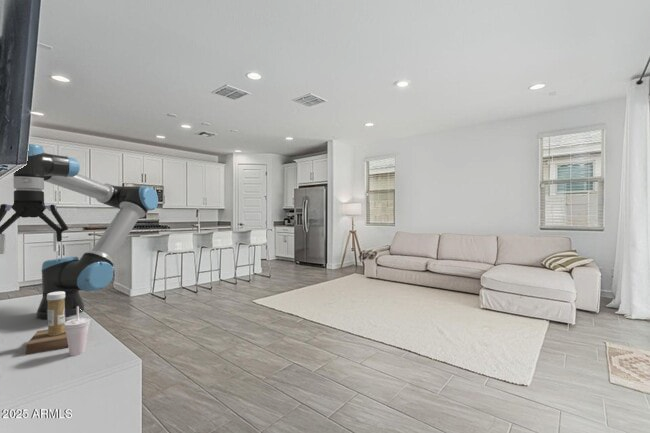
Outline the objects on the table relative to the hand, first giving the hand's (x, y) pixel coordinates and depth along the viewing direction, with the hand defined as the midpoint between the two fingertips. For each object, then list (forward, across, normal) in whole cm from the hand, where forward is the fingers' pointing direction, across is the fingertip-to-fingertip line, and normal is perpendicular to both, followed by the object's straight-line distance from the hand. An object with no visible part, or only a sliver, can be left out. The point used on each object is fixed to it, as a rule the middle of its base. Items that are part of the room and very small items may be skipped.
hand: (30, 252), depth 107 cm
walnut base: (+29, +9, -12) cm, 32 cm away
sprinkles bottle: (+26, +9, -12) cm, 30 cm away
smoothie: (+29, +16, -24) cm, 41 cm away
